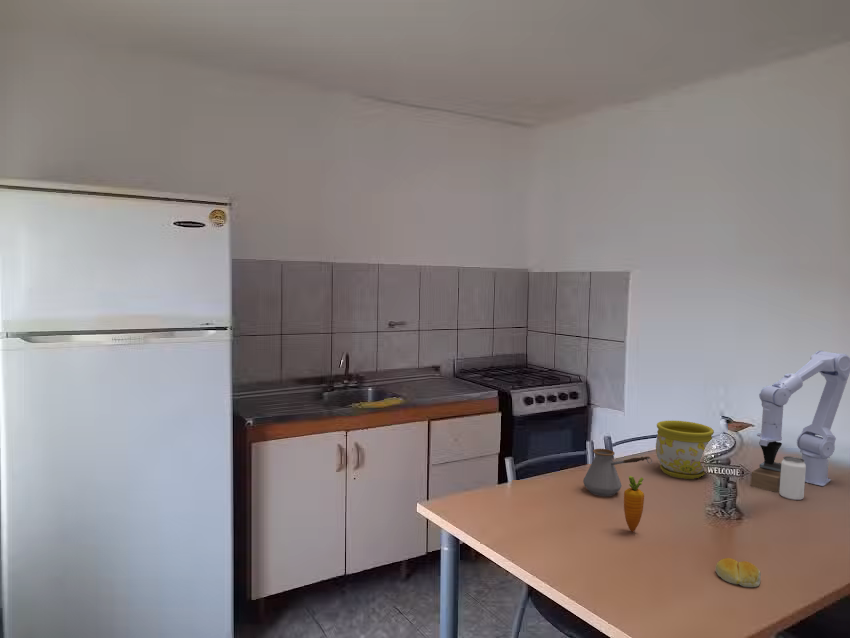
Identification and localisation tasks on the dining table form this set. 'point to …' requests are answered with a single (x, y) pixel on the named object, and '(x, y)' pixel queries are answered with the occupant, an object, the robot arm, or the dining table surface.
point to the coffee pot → (605, 473)
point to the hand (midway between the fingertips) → (769, 463)
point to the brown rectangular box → (766, 479)
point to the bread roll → (738, 572)
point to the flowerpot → (682, 447)
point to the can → (792, 478)
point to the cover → (771, 466)
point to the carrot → (633, 504)
